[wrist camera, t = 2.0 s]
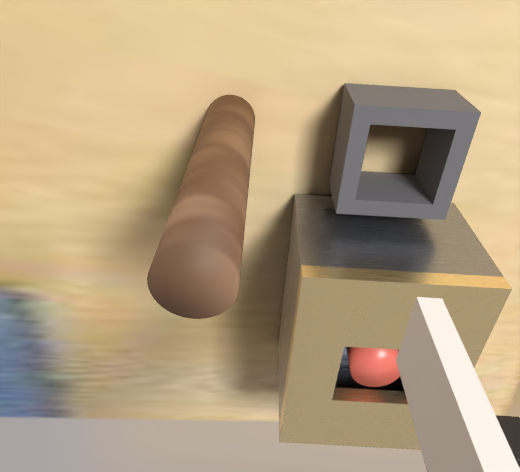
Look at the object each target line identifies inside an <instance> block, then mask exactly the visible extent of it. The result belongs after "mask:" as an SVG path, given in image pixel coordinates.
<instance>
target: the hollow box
mask: <svg viewBox="0 0 520 472" xmlns="http://www.w3.org/2000/svg"><path fill="white" fill-rule="evenodd" d="M511 290H512V289H511V287H510V286H509V284H508V283H507V281H506V280H505V278H504V277H503V275H502V274H501V272H500V271H499V269H498V268H497V266H496V265H495V263H494V262H493V260H492V259H491V257H490V256H489V254H488V253H487V251H486V250H485V248H484V247H483V245H482V244H481V243H480V241H479V240H478V238H477V237H476V235H475V234H474V232H473V231H472V229H471V228H470V226H469V225H468V223H467V222H466V220H465V219H464V217H463V216H462V214H461V213H460V211H459V210H458V208H457V207H456V205H455V204H454V203H451V204H450V207H449V210H448V213H447V216H446V219H445V220H438V219H421V218H404V217H387V216H370V215H353V214H336V212H335V207H334V203H333V198H332V196H319V195H303V194H295V199H294V208H293V217H292V226H291V235H290V244H289V253H288V262H287V271H286V280H285V289H284V298H283V307H282V316H281V325H280V334H279V343H278V368H279V441H280V442H287V443H305V444H325V445H343V446H361V447H380V448H400V449H418V450H421V448H420V445H419V441H418V438H417V434H416V430H415V427H414V423H413V420H412V416H411V412H410V409H409V405H408V402H407V398H406V395H405V391H404V387H403V384H402V380H401V377H399V378H398V379H397V380H395V381H394V382H392V383H390V384H388V385H385V386H380V387H368V386H364V385H361V384H359V383H357V382H356V381H355V380H354V379H353V378H352V375H351V371H350V365H349V359H348V354H347V348H346V347H360V348H378V349H396V350H398V351H399V349H400V346H401V343H402V340H403V337H404V334H405V331H406V328H407V325H408V322H409V318H410V315H411V312H412V309H413V306H414V303H415V300H416V297H425V298H440V299H443V301H444V303H445V306H446V308H447V310H448V312H449V314H450V317H451V319H452V321H453V323H454V325H455V328H456V330H457V332H458V334H459V336H460V339H461V341H462V343H463V345H464V347H465V350H466V352H467V354H468V356H469V358H470V361H471V363H472V365H473V367H475V365H476V363H477V360H478V358H479V356H480V354H481V352H482V350H483V348H484V346H485V344H486V342H487V340H488V338H489V336H490V333H491V331H492V329H493V327H494V325H495V323H496V321H497V319H498V317H499V315H500V313H501V311H502V308H503V306H504V304H505V302H506V300H507V298H508V296H509V294H510V292H511Z"/></svg>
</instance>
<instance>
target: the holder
mask: <svg viewBox="0 0 520 472" xmlns="http://www.w3.org/2000/svg"><path fill="white" fill-rule="evenodd" d="M480 114H481V112H480V111H479V110H478V109H476V108H475V107H474V106H473V105H472V104H471V103H469V102H468V101H467V100H466V99H465V98H464V97H462V96H461V95H460V94H459V93H458V92H457V91H455V90H443V89H427V88H411V87H395V86H378V85H362V84H346V83H345V84H344V90H343V97H342V103H341V109H340V116H339V122H338V129H337V135H336V141H335V148H334V154H333V161H332V167H331V173H330V180H329V185H330V190H331V194H332V198H333V203H334V207H335V212H336V214H353V215H370V216H387V217H404V218H421V219H438V220H445V219H446V216H447V213H448V210H449V207H450V204H451V201H452V198H453V195H454V192H455V189H456V186H457V183H458V180H459V177H460V174H461V171H462V168H463V165H464V162H465V159H466V156H467V153H468V150H469V147H470V144H471V141H472V138H473V135H474V132H475V129H476V126H477V123H478V120H479V117H480ZM370 124H372V125H388V126H404V127H421V128H428V129H427V133H426V137H425V140H424V144H423V148H422V151H421V155H420V159H419V162H418V166H417V170H416V173H415V174H399V173H382V172H366V171H361V169H362V164H363V159H364V154H365V149H366V144H367V139H368V134H369V129H370Z"/></svg>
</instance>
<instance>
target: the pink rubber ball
mask: <svg viewBox="0 0 520 472" xmlns="http://www.w3.org/2000/svg"><path fill="white" fill-rule="evenodd" d="M346 348H347V354H348V359H349V365H350V371H351V375H352V378H353V379H354V380H355V381H356V382H357V383H359V384H361V385H364V386H368V387H380V386H385V385H388V384H390V383H392V382H394V381H395V380H397V379H398V378H399V377H400V373H399V369H398V366H397V362H396V358H397V355H398V352H399V351H398V350H396V349H378V348H360V347H346Z"/></svg>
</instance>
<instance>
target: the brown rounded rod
mask: <svg viewBox="0 0 520 472" xmlns="http://www.w3.org/2000/svg"><path fill="white" fill-rule="evenodd" d="M254 125H255V115H254V111H253V109H252V107H251V106H250V104H249V103H248V102H247V101H246V100H244V99H243V98H241V97H238V96H235V95H225V96H221V97H219V98H217V99H216V100H215V101H214V102H213V103H212V104H211V105H210V107H209V109H208V112H207V114H206V117H205V120H204V123H203V125H202V128H201V131H200V133H199V136H198V139H197V142H196V144H195V147H194V150H193V153H192V155H191V158H190V161H189V163H188V166H187V169H186V172H185V174H184V177H183V180H182V182H181V185H180V188H179V191H178V193H177V196H176V199H175V201H174V204H173V207H172V210H171V212H170V215H169V218H168V221H167V223H166V226H165V229H164V231H163V234H162V237H161V240H160V242H159V245H158V248H157V250H156V253H155V256H154V259H153V261H152V264H151V267H150V270H149V273H148V278H147V280H148V287H149V290H150V293H151V294H152V296H153V298H154V299H155V300H156V301H157V302H158V304H160V305H161V306H162V307H163V308H165V309H166V310H168V311H170V312H171V313H174V314H176V315H179V316H182V317H186V318H194V319H201V318H209V317H213V316H216V315H219V314H221V313H223V312H224V311H226V310H227V309H228V308H230V306H231V305H232V304H233V303H234V302H235V300H236V298H237V295H238V291H239V282H240V271H241V261H242V250H243V240H244V229H245V219H246V209H247V198H248V188H249V177H250V167H251V156H252V146H253V135H254Z"/></svg>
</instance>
